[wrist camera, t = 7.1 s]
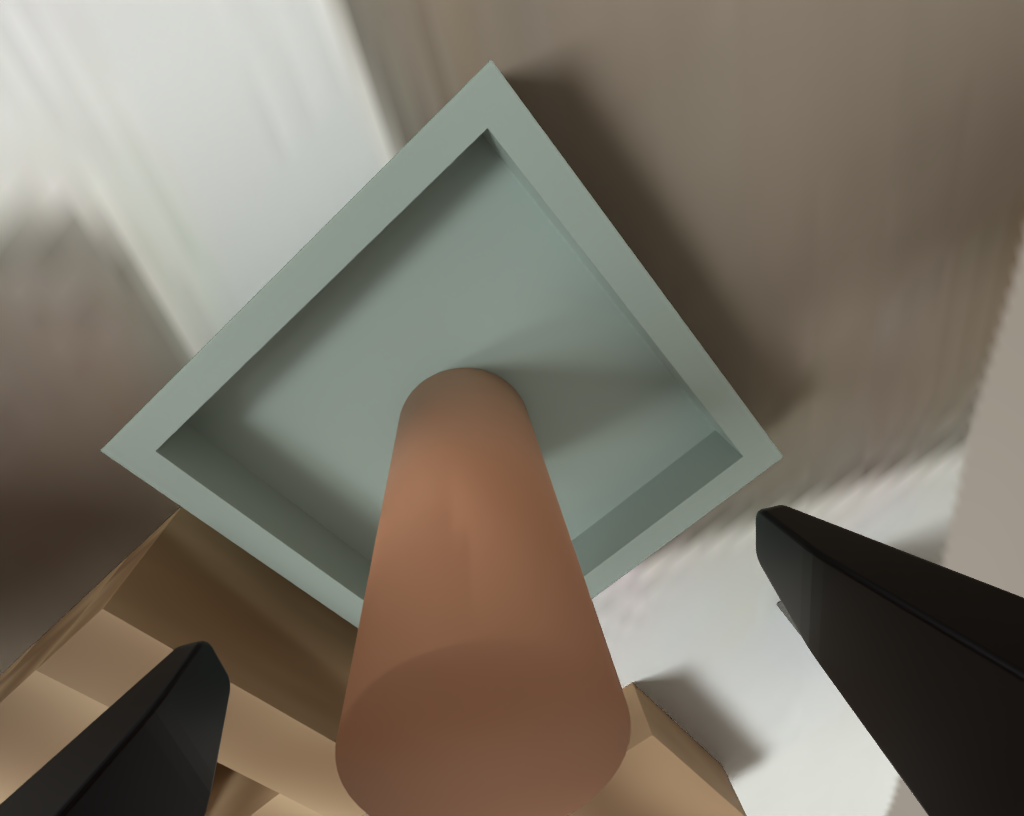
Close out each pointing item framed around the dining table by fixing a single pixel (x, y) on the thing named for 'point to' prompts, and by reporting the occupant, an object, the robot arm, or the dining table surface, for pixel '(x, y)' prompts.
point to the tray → (449, 364)
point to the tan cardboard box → (663, 771)
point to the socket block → (239, 646)
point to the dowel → (476, 626)
